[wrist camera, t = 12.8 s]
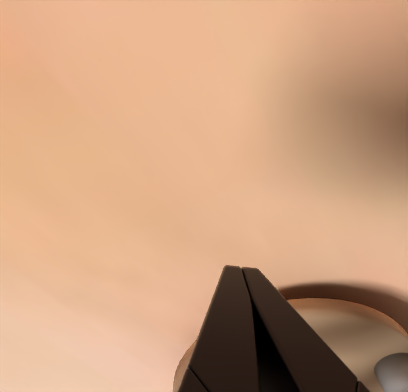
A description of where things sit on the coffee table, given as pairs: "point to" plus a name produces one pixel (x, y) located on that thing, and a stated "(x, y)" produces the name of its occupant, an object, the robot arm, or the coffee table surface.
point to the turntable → (352, 342)
